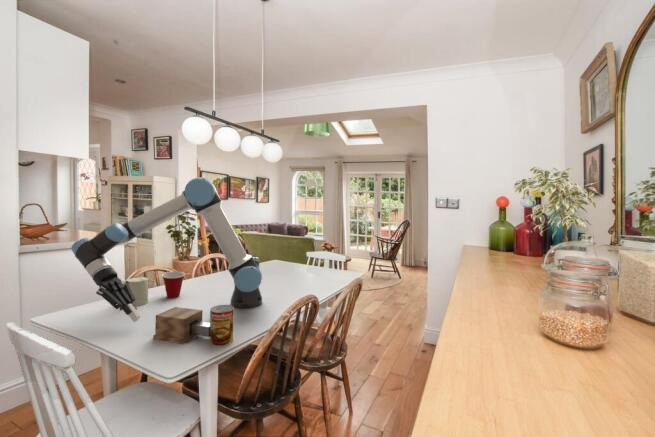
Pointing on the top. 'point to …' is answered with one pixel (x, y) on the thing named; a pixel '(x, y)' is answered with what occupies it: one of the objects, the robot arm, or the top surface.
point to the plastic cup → (173, 283)
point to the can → (139, 290)
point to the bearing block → (176, 324)
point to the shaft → (199, 328)
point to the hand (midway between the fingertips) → (137, 319)
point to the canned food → (221, 325)
